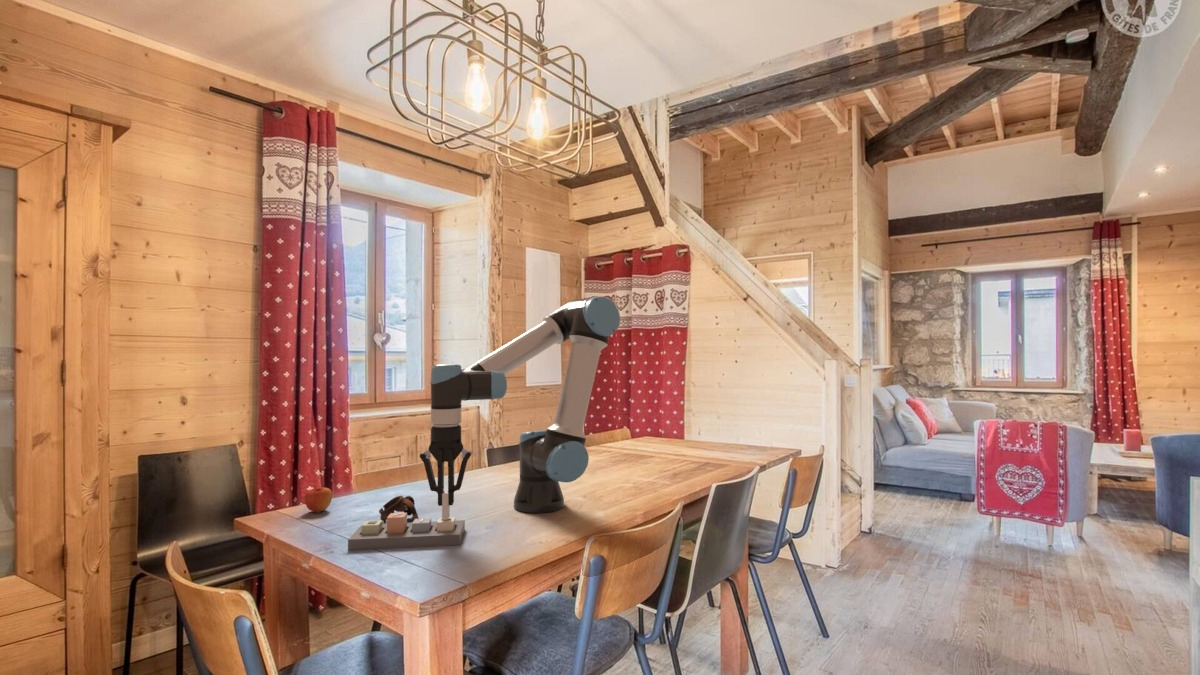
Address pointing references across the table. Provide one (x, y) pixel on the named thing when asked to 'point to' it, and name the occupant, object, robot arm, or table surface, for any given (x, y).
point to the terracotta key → (397, 523)
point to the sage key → (372, 527)
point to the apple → (318, 499)
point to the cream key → (446, 524)
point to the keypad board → (407, 538)
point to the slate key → (421, 525)
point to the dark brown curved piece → (399, 507)
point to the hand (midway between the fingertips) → (445, 518)
